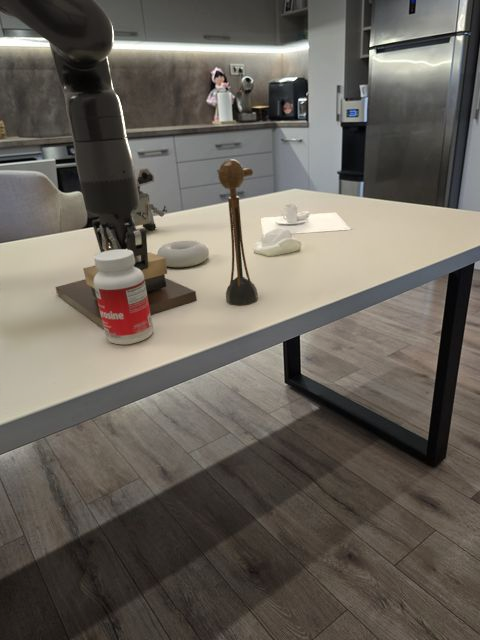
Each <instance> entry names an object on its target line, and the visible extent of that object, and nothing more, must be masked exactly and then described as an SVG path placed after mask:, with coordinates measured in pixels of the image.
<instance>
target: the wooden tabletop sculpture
mask: <svg viewBox="0 0 480 640" xmlns="http://www.w3.org/2000/svg"><path fill="white" fill-rule="evenodd" d="M253 174H254V171H253V169H252V168H251V167H247V168H244V167H243V166H242V164H241V162H239V161H238V160H236V159H231V158H229V159H227V160H224V161H223V162H222V163H221V164H220V167H219V169H218V180H219V183H220V185H221V186H222V187H223V188H224V189H226V190H229V194H230V196H228V197H227V201H228V213H229V224H230V237H231V238H230V239H231V274H230V282H229V285H228V286H227V288H226V292H225V301H226V303H228V304H229V305H232V306H247V305H251V304H254V303H256V302H257V301H258V299H259V293H258V290H257V287H256V285H255V284H254V283H253V282H252V280H251V278H250V274H249V270H248V267H247V266H248V265H247V260H246V256H245V249H244V242H243V231H242V220H241V208H240V207H241V206H240V196H239V195H237V189H238V188H240V187H241V186H242V184H243V183H244V179H245V178H246V177H252V176H253ZM235 263H236V265H235ZM235 266H236V275H237V276H236V277H235V278H234V274H235V273H234V272H235ZM243 268H244V271H245V276H246V277H245V276H244V273H243V272H244V271H243Z"/></svg>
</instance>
